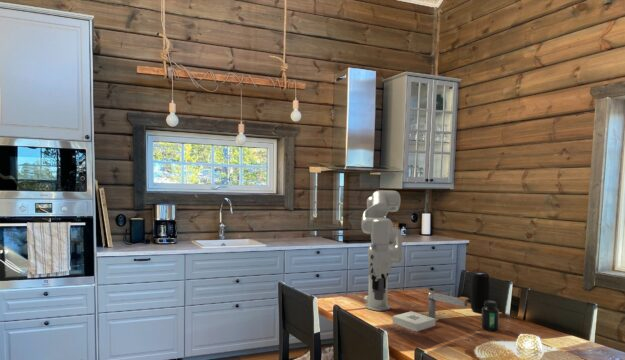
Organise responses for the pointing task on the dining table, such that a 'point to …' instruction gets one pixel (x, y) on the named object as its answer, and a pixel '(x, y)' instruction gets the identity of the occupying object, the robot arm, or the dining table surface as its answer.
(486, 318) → the supplement bottle
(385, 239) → the robot arm
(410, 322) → the socket block
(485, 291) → the portable speaker
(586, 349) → the dining table surface
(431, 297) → the grey long bar
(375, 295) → the plug
